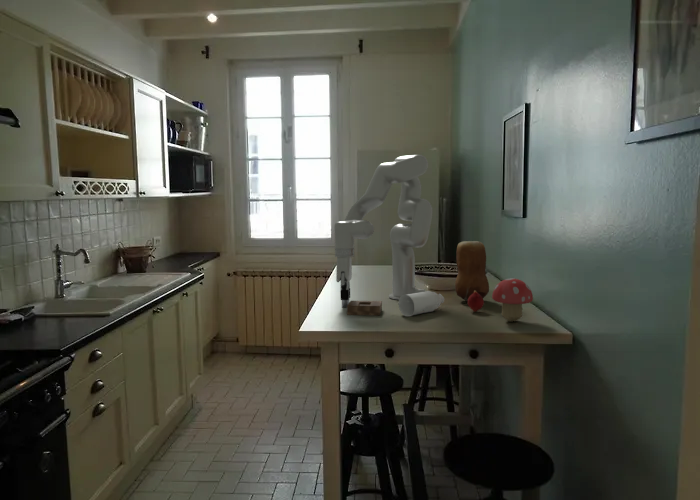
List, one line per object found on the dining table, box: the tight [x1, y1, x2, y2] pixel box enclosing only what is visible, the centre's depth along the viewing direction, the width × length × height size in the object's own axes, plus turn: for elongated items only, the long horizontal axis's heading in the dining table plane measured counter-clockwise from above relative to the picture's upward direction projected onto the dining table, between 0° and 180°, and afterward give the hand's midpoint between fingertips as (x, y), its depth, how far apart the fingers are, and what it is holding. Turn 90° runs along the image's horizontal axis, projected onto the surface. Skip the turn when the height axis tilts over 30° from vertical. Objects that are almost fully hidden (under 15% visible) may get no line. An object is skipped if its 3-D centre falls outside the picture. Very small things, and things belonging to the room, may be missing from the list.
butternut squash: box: [454, 240, 490, 302], centre depth 212 cm, size 14×13×25 cm
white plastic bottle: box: [397, 290, 445, 317], centre depth 194 cm, size 8×19×8 cm, turn 128°
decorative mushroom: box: [491, 277, 534, 323], centre depth 178 cm, size 13×13×15 cm
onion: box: [467, 291, 485, 313], centre depth 194 cm, size 6×6×8 cm
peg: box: [341, 281, 350, 308], centre depth 206 cm, size 3×3×10 cm
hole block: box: [346, 300, 383, 317], centre depth 196 cm, size 12×9×4 cm
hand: (345, 298), depth 206 cm, fingers closed on peg, 3 cm apart
